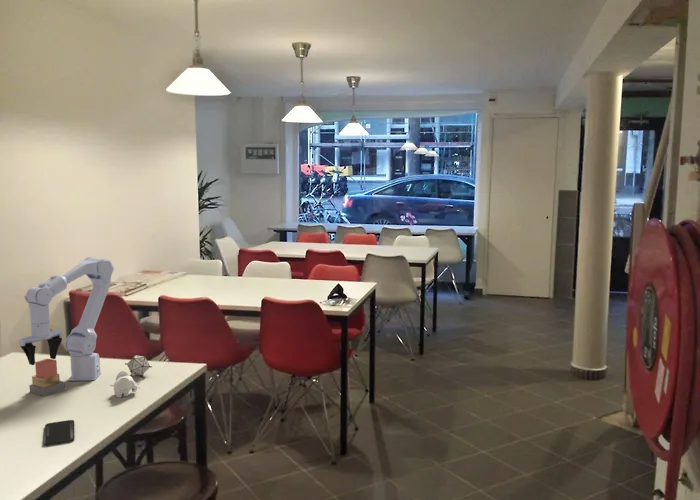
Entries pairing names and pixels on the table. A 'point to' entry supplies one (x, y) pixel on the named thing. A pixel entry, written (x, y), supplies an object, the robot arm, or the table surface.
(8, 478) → the table surface
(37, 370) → the red block
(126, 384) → the elephant figurine
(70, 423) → the phone
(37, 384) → the oak tile
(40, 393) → the charcoal base tile
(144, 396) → the table surface
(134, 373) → the grey geodesic polyhedron
